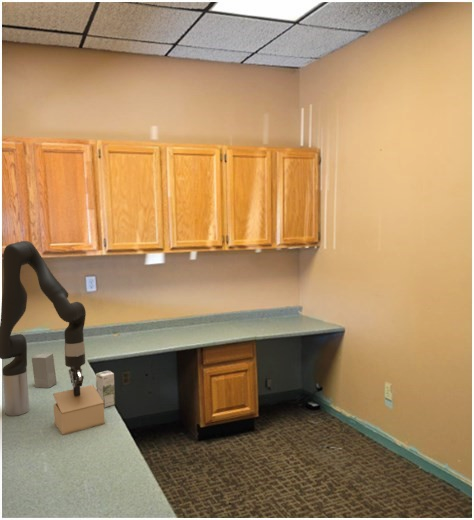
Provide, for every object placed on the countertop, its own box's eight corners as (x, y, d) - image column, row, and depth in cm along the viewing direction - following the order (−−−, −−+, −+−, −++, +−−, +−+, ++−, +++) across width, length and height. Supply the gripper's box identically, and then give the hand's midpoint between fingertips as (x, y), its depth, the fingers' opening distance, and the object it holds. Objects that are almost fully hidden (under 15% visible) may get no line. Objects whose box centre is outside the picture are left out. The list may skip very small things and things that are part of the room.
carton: (54, 423, 184) (53, 403, 184) (94, 413, 193) (93, 394, 193) (63, 435, 173) (61, 414, 173) (104, 423, 183) (103, 404, 182)
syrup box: (108, 401, 206) (107, 369, 205) (115, 404, 202) (114, 372, 200) (97, 405, 202) (95, 373, 201) (103, 408, 198) (102, 375, 196)
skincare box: (57, 384, 231) (55, 353, 230) (47, 389, 224) (45, 357, 223) (42, 383, 233) (40, 352, 232) (33, 387, 226) (30, 356, 225)
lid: (53, 394, 183) (53, 393, 183) (93, 385, 192) (93, 384, 192) (61, 414, 173) (61, 412, 173) (103, 403, 182) (103, 402, 182)
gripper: (60, 350, 185) (63, 392, 187) (69, 358, 174) (72, 402, 176) (79, 347, 190) (81, 388, 191) (89, 355, 179) (91, 398, 180)
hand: (77, 395), depth 183 cm, fingers closed
